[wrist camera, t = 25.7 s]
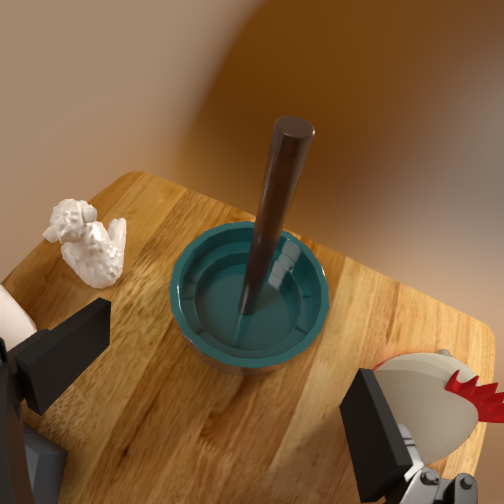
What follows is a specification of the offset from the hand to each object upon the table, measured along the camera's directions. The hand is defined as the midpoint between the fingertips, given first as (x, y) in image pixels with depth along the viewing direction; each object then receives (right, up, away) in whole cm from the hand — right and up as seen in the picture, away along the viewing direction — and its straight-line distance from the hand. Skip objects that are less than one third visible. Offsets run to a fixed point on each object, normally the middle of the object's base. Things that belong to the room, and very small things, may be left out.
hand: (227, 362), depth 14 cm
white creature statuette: (-17, +4, +19) cm, 25 cm away
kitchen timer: (+18, -13, +13) cm, 26 cm away
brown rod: (+1, 0, +17) cm, 17 cm away
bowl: (0, -1, +18) cm, 18 cm away
